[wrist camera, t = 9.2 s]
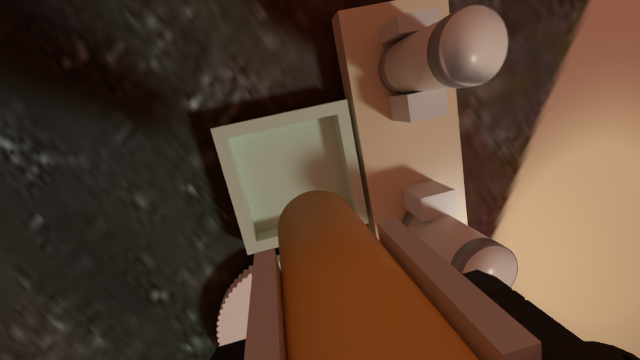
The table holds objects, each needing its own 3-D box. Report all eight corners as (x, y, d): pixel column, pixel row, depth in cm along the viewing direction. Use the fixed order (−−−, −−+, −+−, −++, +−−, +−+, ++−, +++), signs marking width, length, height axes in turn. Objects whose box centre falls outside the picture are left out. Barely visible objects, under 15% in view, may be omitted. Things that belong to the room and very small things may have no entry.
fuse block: (331, 19, 26) (380, -47, 15) (431, 1, 27) (547, -75, 16) (375, 270, 32) (433, 356, 21) (455, 247, 33) (551, 318, 22)
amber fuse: (268, 201, 15) (271, 520, 3) (347, 181, 15) (591, 406, 4) (287, 272, 16) (339, 708, 4) (361, 252, 16) (585, 600, 5)
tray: (215, 126, 26) (210, 128, 24) (339, 100, 27) (346, 99, 25) (249, 242, 29) (247, 255, 26) (360, 213, 30) (368, 223, 28)
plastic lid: (379, 273, 32) (388, 286, 30) (322, 380, 34) (326, 400, 32) (254, 226, 29) (253, 237, 26) (198, 348, 31) (193, 368, 28)
